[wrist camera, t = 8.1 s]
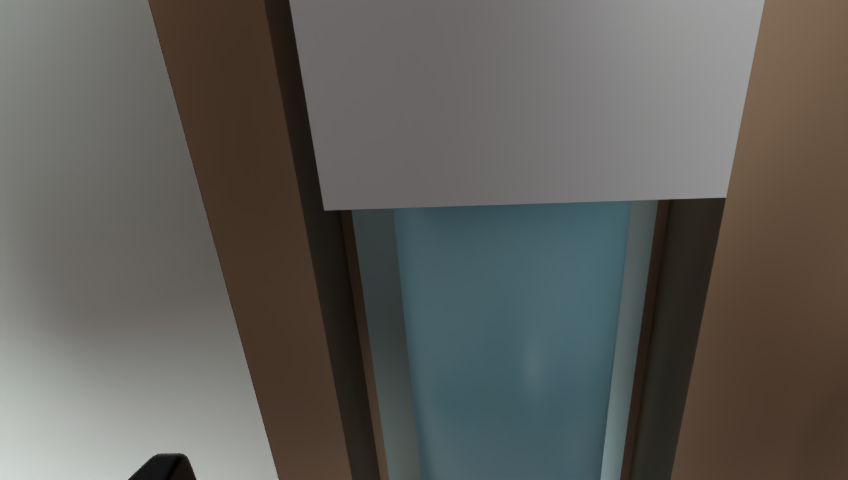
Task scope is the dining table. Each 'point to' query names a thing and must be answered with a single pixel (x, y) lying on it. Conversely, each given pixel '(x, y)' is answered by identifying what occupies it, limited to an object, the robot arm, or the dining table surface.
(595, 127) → the grey and teal bar
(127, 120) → the dining table surface
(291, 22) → the walnut rack
